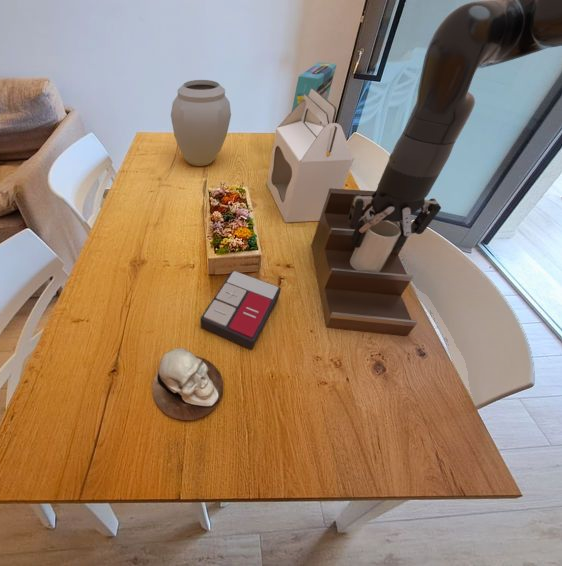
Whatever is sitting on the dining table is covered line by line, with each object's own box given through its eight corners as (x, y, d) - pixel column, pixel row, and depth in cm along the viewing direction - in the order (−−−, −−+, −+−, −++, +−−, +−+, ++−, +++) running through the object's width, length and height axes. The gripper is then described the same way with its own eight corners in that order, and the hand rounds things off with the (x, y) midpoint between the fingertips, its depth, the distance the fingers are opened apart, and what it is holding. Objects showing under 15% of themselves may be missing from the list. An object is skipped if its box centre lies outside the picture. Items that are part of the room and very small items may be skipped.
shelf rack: (407, 336, 63) (454, 275, 52) (326, 327, 65) (354, 267, 54) (373, 251, 82) (402, 192, 70) (310, 246, 83) (329, 188, 72)
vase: (226, 150, 125) (231, 76, 108) (228, 174, 111) (235, 94, 94) (174, 150, 126) (171, 76, 108) (170, 174, 112) (166, 94, 95)
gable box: (266, 183, 106) (283, 85, 87) (306, 182, 107) (332, 83, 87) (285, 223, 90) (311, 114, 71) (332, 221, 91) (371, 111, 71)
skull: (241, 375, 57) (221, 382, 47) (210, 425, 57) (185, 441, 48) (188, 336, 62) (161, 336, 53) (161, 382, 63) (130, 389, 54)
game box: (298, 169, 113) (319, 78, 94) (280, 164, 116) (298, 75, 97) (315, 147, 126) (337, 63, 107) (299, 144, 128) (318, 61, 109)
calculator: (199, 316, 63) (232, 267, 71) (199, 329, 66) (231, 280, 74) (254, 339, 59) (282, 284, 67) (251, 352, 62) (278, 298, 70)
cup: (386, 265, 68) (406, 228, 61) (372, 278, 65) (391, 242, 58) (358, 251, 71) (375, 215, 64) (344, 263, 68) (359, 227, 62)
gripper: (373, 172, 51) (338, 255, 63) (474, 178, 49) (420, 262, 61) (362, 152, 56) (332, 232, 68) (453, 156, 55) (407, 238, 66)
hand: (374, 246), depth 64 cm, fingers open, 6 cm apart
